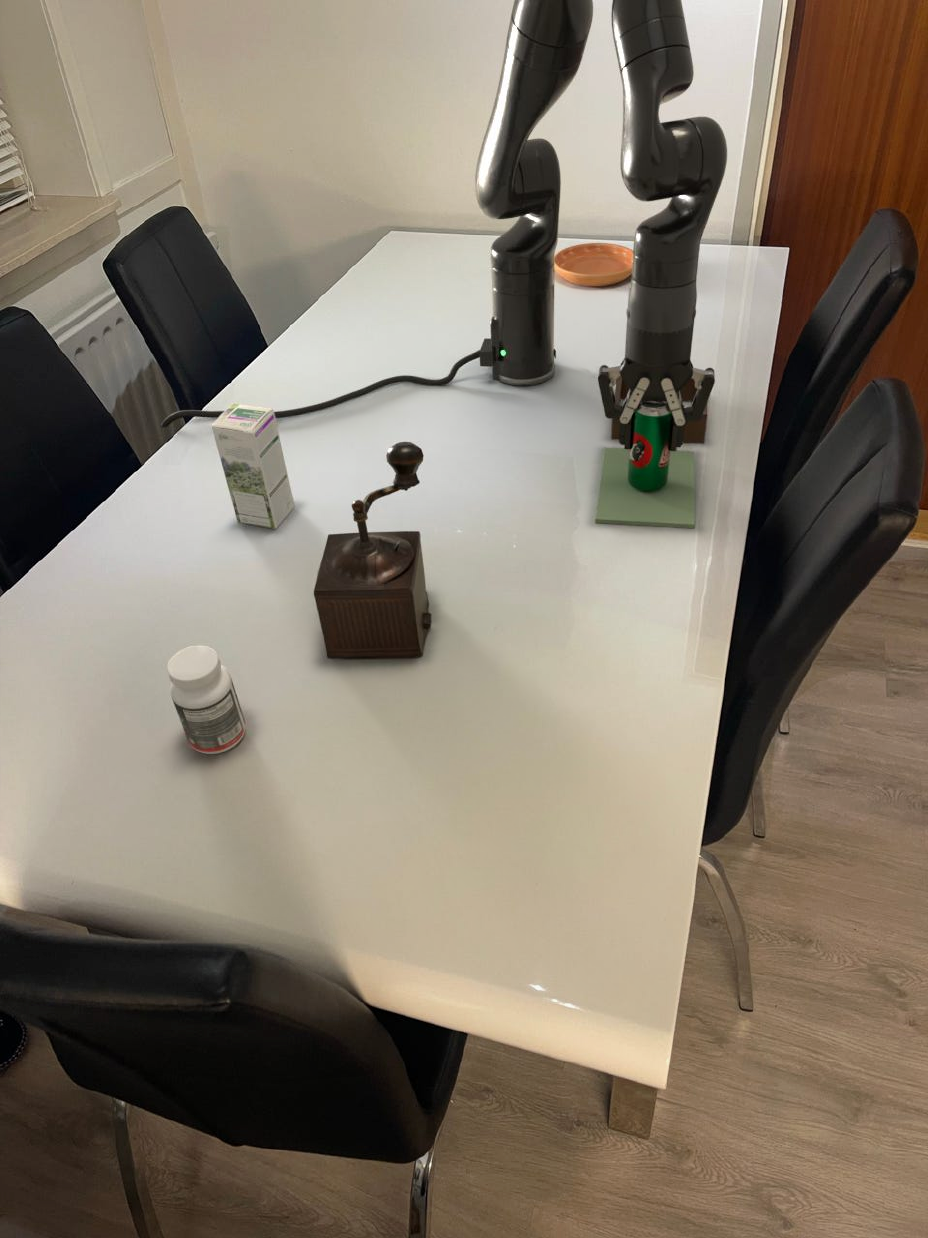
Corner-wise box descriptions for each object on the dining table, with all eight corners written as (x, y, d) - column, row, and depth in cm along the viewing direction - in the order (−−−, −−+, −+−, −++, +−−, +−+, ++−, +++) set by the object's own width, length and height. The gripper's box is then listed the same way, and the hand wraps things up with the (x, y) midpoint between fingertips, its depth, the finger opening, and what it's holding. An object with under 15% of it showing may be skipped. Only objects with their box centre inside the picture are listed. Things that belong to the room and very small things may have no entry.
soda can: (666, 495, 118) (674, 409, 110) (625, 493, 119) (631, 407, 111) (667, 473, 122) (676, 389, 114) (628, 471, 123) (634, 387, 115)
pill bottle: (192, 716, 94) (166, 643, 88) (249, 710, 95) (227, 637, 88) (185, 759, 90) (156, 686, 84) (244, 753, 90) (220, 680, 84)
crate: (611, 439, 130) (612, 410, 127) (616, 396, 140) (617, 368, 137) (703, 443, 128) (707, 413, 125) (703, 399, 137) (706, 370, 134)
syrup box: (296, 506, 122) (275, 405, 113) (275, 531, 118) (251, 429, 109) (258, 500, 124) (234, 400, 114) (235, 525, 120) (209, 424, 110)
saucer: (643, 287, 169) (644, 271, 167) (555, 292, 170) (555, 276, 168) (632, 255, 181) (633, 240, 179) (550, 260, 182) (550, 244, 180)
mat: (594, 522, 116) (595, 518, 115) (604, 451, 128) (604, 447, 128) (694, 528, 113) (695, 524, 113) (694, 455, 126) (694, 451, 126)
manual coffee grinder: (428, 659, 99) (412, 518, 87) (325, 660, 99) (295, 521, 88) (437, 568, 110) (424, 433, 99) (345, 570, 111) (321, 436, 99)
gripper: (725, 303, 107) (708, 434, 118) (599, 301, 110) (594, 429, 121) (727, 331, 102) (709, 465, 113) (594, 328, 104) (589, 460, 115)
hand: (650, 446), depth 117 cm, fingers closed on soda can, 5 cm apart
